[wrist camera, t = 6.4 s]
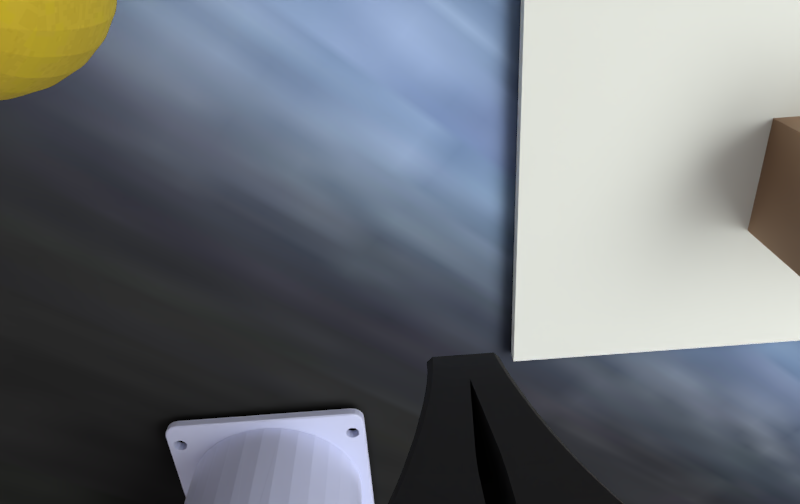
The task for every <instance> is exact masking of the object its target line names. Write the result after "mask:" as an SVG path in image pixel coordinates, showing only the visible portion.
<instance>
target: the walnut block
mask: <svg viewBox="0 0 800 504" xmlns="http://www.w3.org/2000/svg"><path fill="white" fill-rule="evenodd" d="M748 231H749V232H750V233H751V234H752V235H753V236H754V237H755V238H757V239H758V240H759V241H760V242H761V243H762V244H763V245H764V246H766V247H767V248H768V249H769V250H770V251H771V252H772V253H774V254H775V255H776V256H777V257H778V258H779V259H780V260H782V261H783V262H784V263H785V264H786V265H787V266H788V267H790V268H791V269H792V270H793V271H794V272H795V273H796V274H798V275H799V276H800V116H795V117H782V118H773V121H772V125H771V130H770V134H769V139H768V143H767V147H766V152H765V156H764V161H763V165H762V169H761V174H760V178H759V183H758V187H757V191H756V196H755V200H754V204H753V209H752V213H751V218H750V222H749V226H748Z"/></svg>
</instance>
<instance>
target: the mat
mask: <svg viewBox="0 0 800 504" xmlns="http://www.w3.org/2000/svg"><path fill="white" fill-rule="evenodd" d="M795 116H800V0H521V12H520V48H519V84H518V121H517V157H516V193H515V229H514V265H513V301H512V338H511V355H512V358H513V361H525V360H539V359H552V358H566V357H580V356H593V355H607V354H621V353H634V352H648V351H661V350H675V349H689V348H702V347H716V346H730V345H743V344H757V343H771V342H784V341H798V340H800V276H799V275H798V274H796V273H795V272H794V271H793V270H792V269H791V268H790V267H788V266H787V265H786V264H785V263H784V262H783V261H782V260H780V259H779V258H778V257H777V256H776V255H775V254H774V253H772V252H771V251H770V250H769V249H768V248H767V247H766V246H764V245H763V244H762V243H761V242H760V241H759V240H758V239H757V238H755V237H754V236H753V235H752V234H751V233H750V232H749V231H748V226H749V222H750V218H751V213H752V209H753V204H754V200H755V196H756V191H757V187H758V183H759V178H760V174H761V169H762V165H763V161H764V156H765V152H766V147H767V143H768V139H769V134H770V130H771V125H772V121H773V118H782V117H795Z"/></svg>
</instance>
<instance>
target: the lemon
mask: <svg viewBox="0 0 800 504" xmlns="http://www.w3.org/2000/svg"><path fill="white" fill-rule="evenodd" d="M116 5H117V0H0V100H6V99H12V98H16V97H19V96H23V95H26V94H29V93H33V92H36V91H39V90H43V89H46V88H49V87H51V86H53V85H55V84H57V83H58V82H60V81H61V80H63V79H64V78H66V77H67V76H69V75H70V74H72V73H73V72H75V71H76V70H78V69H79V68H81V67H82V66H83V65H84V64H85V63H86V62H87V61H88V60H89V59H90V58H91V56H92V55H93V54H94V52H95V51H96V50H97V49H98V47H99V46H100V45H101V43H102V42H103V41H104V39H105V38H106V35H107V33H108V30H109V27H110V25H111V22H112V20H113V17H114V14H115V11H116Z"/></svg>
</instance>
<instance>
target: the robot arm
mask: <svg viewBox="0 0 800 504" xmlns="http://www.w3.org/2000/svg"><path fill="white" fill-rule="evenodd" d="M427 369H428V375H427V386H426V392H425V397H424V402H423V407H422V411H421V415H420V418H419V422H418V426H417V430H416V433H415V436H414V440H413V442H412V445H411V448H410V451H409V454H408V457H407V459H406V462H405V465H404V468H403V470H402V473H401V475H400V478H399V480H398V483H397V485H396V487H395V490H394V492H393V494H392V496H391V499H390V501H389V503H388V504H624V503H623V502H622V501H620V500H619V499H618V498H617V497H616V496H615V495H614V494H613V493H612V492H610V491H609V490H608V489H607V488H606V487H605V486H604V485H603V484H602V483H601V482H600V481H599V480H598V479H597V478H596V477H595V476H594V475H593V474H592V473H591V472H590V471H589V470H588V469H587V468H586V467H585V466H584V465H583V464H582V463H581V462H580V461H579V460H578V459H577V458H576V457H575V456H574V455H573V454H572V453H571V451H570V450H569V449H568V448H567V447H566V446H565V445H564V444H563V443H562V442H561V441H560V439H559V438H558V437H557V436H556V435H555V434H554V432H553V431H552V430H551V429H550V428H549V426H548V425H547V424H546V423H545V421H544V420H543V419H542V418H541V417H540V415H539V414H538V413H537V412H536V410H535V409H534V408H533V407H532V405H531V404H530V403H529V401H528V400H527V399H526V397H525V396H524V395H523V393H522V392H521V390H520V389H519V388H518V386H517V385H516V383H515V382H514V380H513V379H512V377H511V376H510V374H509V373H508V371H507V370H506V368H505V367H504V365H503V363H502V362H501V360H500V358H499V357H498V356H497V355H496V354H495V353H482V354H469V355H455V356H441V357H432V358H431V359H430V360H429V361H428V362H427ZM350 428H356V429H357V430H354V431H353V430H349V429H350ZM165 434H166V439H167V442H168V445H169V448H170V451H171V454H172V457H173V460H174V463H175V466H176V469H177V472H178V475H179V478H180V481H181V484H182V487H183V491H184V494H185V497H186V499H185V502H184V504H374V496H373V488H372V479H371V471H370V463H369V455H368V446H367V438H366V430H365V422H364V416H363V413H362V412H361V411H360V410H357V409H353V408H348V409H334V410H321V411H307V412H294V413H280V414H266V415H253V416H239V417H225V418H212V419H198V420H184V421H175V422H172V423H171V424H169V426H168V428H167V430H166V433H165ZM179 441H183V442H185V443H181V442H179Z"/></svg>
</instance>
